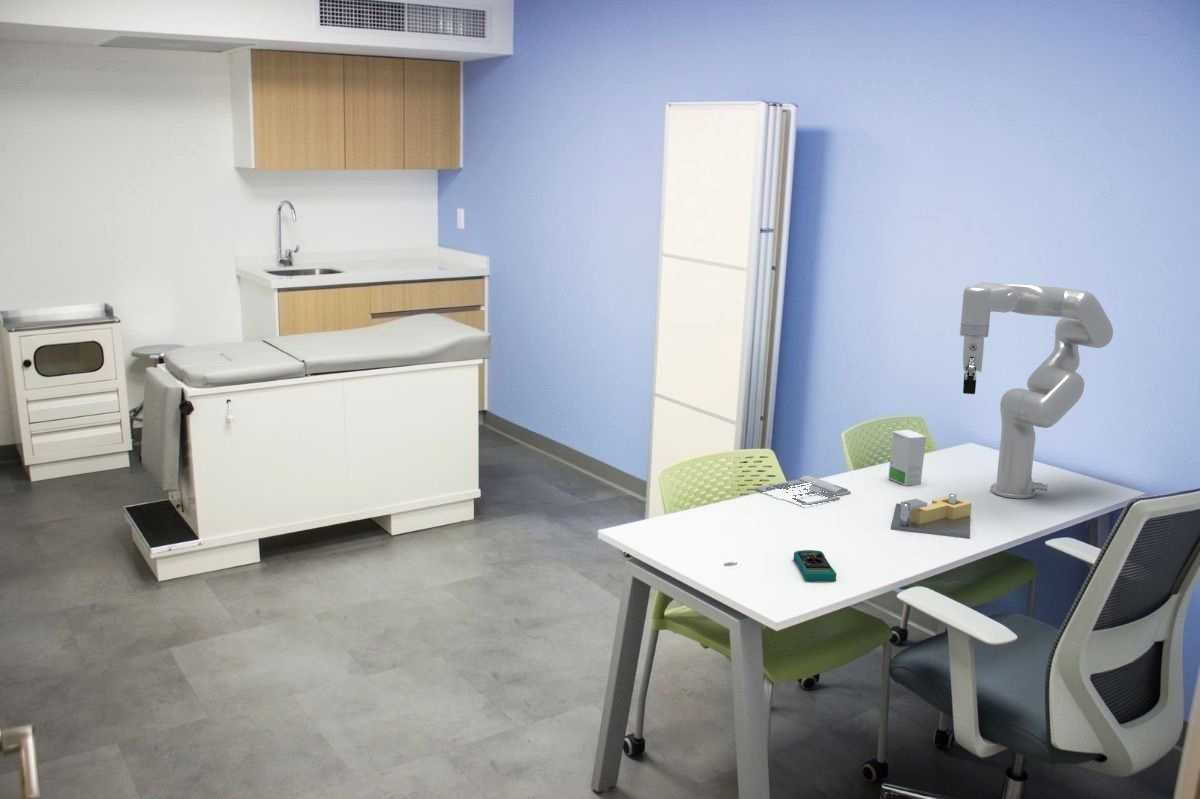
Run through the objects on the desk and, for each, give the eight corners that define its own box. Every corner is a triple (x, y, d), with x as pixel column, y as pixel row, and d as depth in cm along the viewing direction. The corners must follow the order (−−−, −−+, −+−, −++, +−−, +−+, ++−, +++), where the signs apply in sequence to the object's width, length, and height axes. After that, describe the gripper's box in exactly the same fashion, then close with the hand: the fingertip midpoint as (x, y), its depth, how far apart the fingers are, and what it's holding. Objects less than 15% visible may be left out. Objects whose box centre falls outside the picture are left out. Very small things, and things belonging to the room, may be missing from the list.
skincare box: (887, 479, 326) (891, 430, 322) (904, 476, 328) (908, 428, 325) (906, 486, 318) (909, 437, 315) (922, 484, 321) (926, 435, 317)
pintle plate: (969, 514, 293) (971, 491, 292) (969, 538, 275) (971, 513, 273) (896, 506, 300) (897, 483, 298) (890, 529, 281) (892, 505, 280)
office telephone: (811, 472, 326) (859, 489, 309) (811, 480, 326) (859, 497, 310) (755, 483, 313) (802, 501, 297) (754, 491, 314) (801, 510, 297)
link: (948, 507, 296) (949, 495, 295) (970, 515, 290) (971, 503, 289) (904, 519, 286) (905, 506, 285) (925, 526, 280) (926, 514, 279)
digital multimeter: (821, 559, 260) (822, 548, 260) (836, 583, 246) (837, 571, 245) (792, 560, 260) (793, 548, 259) (805, 583, 246) (806, 571, 245)
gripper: (988, 336, 284) (983, 397, 288) (988, 326, 300) (982, 385, 304) (959, 334, 286) (954, 395, 290) (960, 325, 302) (955, 383, 306)
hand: (969, 390), depth 297 cm, fingers open, 9 cm apart
